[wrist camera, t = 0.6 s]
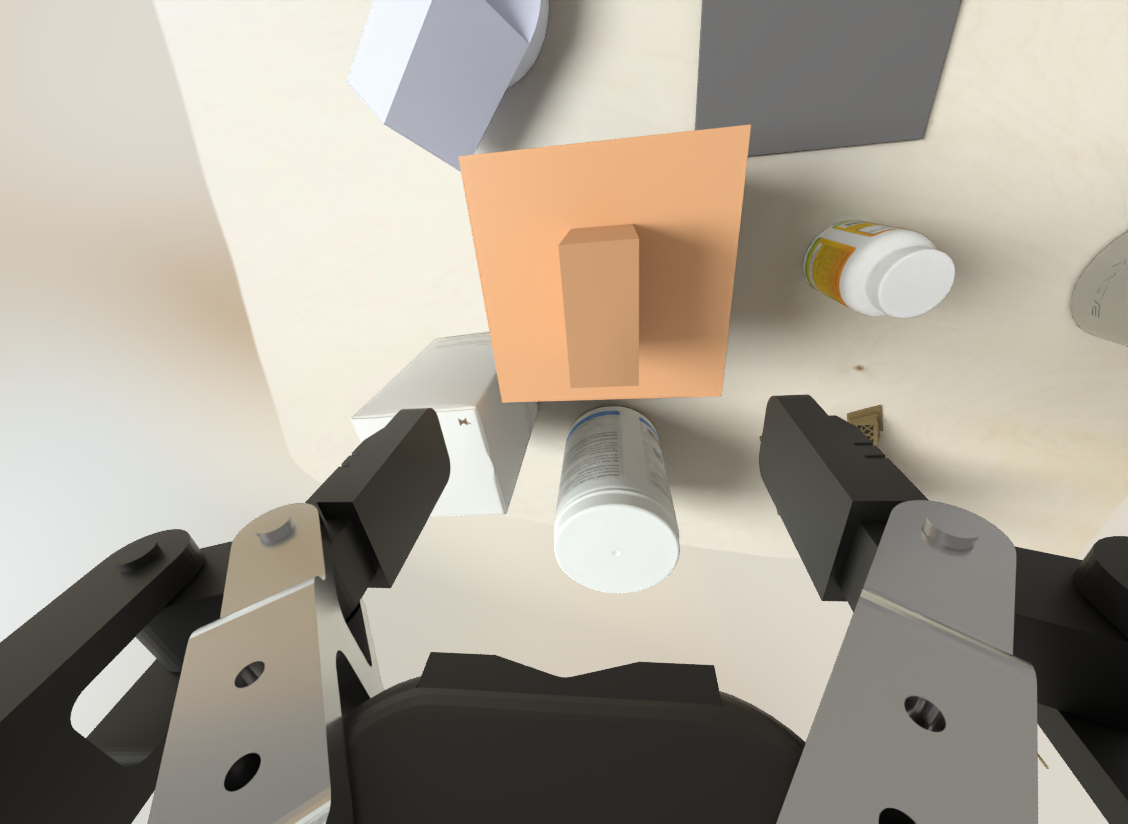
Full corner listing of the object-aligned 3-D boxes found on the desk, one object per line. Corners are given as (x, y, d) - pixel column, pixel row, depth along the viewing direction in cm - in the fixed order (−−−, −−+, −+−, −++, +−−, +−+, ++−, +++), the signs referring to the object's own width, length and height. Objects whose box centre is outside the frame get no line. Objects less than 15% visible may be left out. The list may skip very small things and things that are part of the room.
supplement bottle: (822, 305, 35) (890, 347, 26) (787, 255, 33) (848, 283, 25) (889, 259, 32) (986, 288, 24) (856, 203, 31) (947, 213, 22)
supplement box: (431, 336, 39) (343, 415, 27) (523, 326, 38) (478, 404, 25) (456, 419, 44) (391, 521, 31) (540, 413, 42) (508, 517, 29)
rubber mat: (1014, -209, 21) (1020, -216, 21) (918, 138, 29) (922, 138, 28) (710, -151, 23) (711, -156, 23) (693, 161, 31) (694, 161, 30)
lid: (736, 129, 20) (801, 105, 13) (712, 378, 26) (748, 450, 19) (473, 158, 22) (408, 150, 15) (510, 385, 28) (477, 454, 21)
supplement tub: (559, 468, 46) (538, 581, 33) (576, 392, 41) (560, 491, 28) (646, 486, 46) (659, 607, 33) (673, 413, 41) (701, 520, 28)
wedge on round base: (477, 173, 32) (576, -18, 27) (447, 173, 27) (566, -72, 21) (371, 90, 30) (453, -136, 25) (315, 71, 25) (404, -232, 19)
